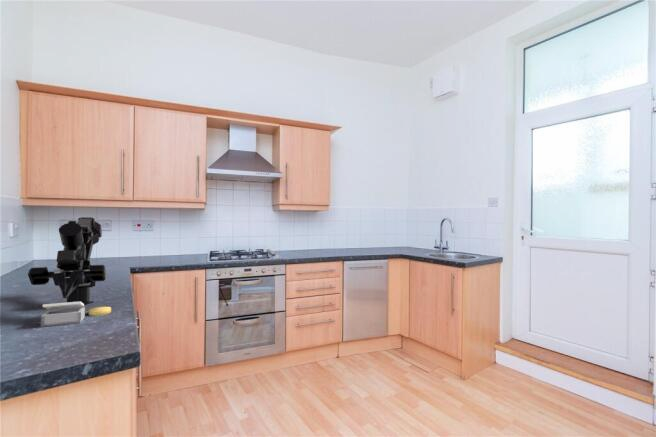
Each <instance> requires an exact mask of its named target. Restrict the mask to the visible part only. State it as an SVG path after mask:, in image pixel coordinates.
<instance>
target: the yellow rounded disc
mask: <svg viewBox="0 0 656 437" xmlns="http://www.w3.org/2000/svg"><path fill="white" fill-rule="evenodd" d="M111 313H112V307H111V306H96V307H91V308H89V309H88V316H90V317H92V316H93V317H97V316H98V317H99V316H104V315H105V316H106V315H108V314H111Z"/></svg>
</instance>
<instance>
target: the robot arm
mask: <svg viewBox="0 0 656 437" xmlns="http://www.w3.org/2000/svg"><path fill="white" fill-rule="evenodd" d="M102 231H103V230H102V225H101V224H100V223H99V222H97V221H96V219H95V218H94V217H90V216H87V217H86V216H85V217H83V216H81V217H78V220H69V221H68V222H67V223H64V224H62V225H60V226H59V228H58V233H59V237H60V242H61V245H62V246H63V250H58V251H57V255H56V263H57V264H56V269H55V268H54V270H52V271H49V270H48V267H47V266H42V267H41V266H37V267H36V266H35V267H30V269H28V273H27V276H28V279H29V281H30V284H31V285H32V286H41V285H47V284H48V283H49V282H50V279H52V280H53V283H54V285H55V286H57V287H59V288H60V291H61V294H62V299H66V303H67V302H79V301H81V302H82V303H83V304H84V306H86V305H89V304H92V303H94V300H90V288H93V287H96V282H104V281H106V279H107V278H106V277H107V276H106V275H107V272H106V266H105V265H104V264H91V262H90V260H91V256H92V252H93V246H94V245H95V244H97V243H99V241H100V238H101V237H102V236H103V235H102V234H103V232H102Z"/></svg>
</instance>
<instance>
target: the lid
mask: <svg viewBox="0 0 656 437" xmlns="http://www.w3.org/2000/svg"><path fill="white" fill-rule="evenodd" d="M81 307H85V305H84V304H83V303H82V302H81V301H79V302H67V301H66V302H59V303H58V302H55V303H46V304H45V303H43V304H42V308H44V309H46V310H61V309H72V308H81Z"/></svg>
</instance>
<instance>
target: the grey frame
mask: <svg viewBox="0 0 656 437" xmlns="http://www.w3.org/2000/svg"><path fill="white" fill-rule="evenodd" d="M85 311H86V307H85V306H83V307H74V308H63V309H47V310H46V311H45V312H44V313H43V314H41V316H40V328H45V327H53V326H54V327H55V326H61V325H62V326H63V325H64V326H65V325H72V324H73V325H74V324H80V323H82V321H83V320H84V319H85V317H86V316H85V314H86V312H85Z"/></svg>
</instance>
